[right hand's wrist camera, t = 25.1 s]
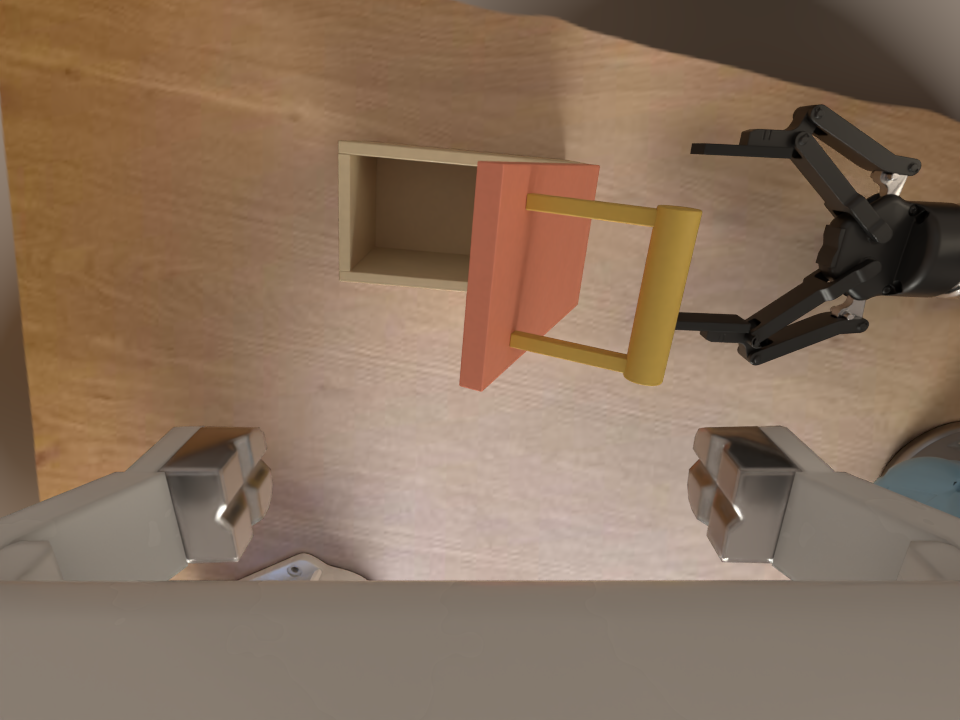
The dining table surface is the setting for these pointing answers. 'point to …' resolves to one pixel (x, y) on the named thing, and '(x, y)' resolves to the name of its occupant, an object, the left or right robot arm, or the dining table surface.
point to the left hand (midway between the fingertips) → (680, 239)
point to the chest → (409, 213)
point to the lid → (561, 270)
